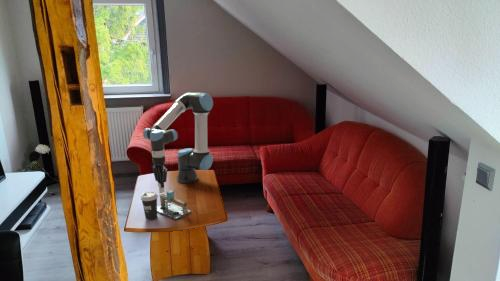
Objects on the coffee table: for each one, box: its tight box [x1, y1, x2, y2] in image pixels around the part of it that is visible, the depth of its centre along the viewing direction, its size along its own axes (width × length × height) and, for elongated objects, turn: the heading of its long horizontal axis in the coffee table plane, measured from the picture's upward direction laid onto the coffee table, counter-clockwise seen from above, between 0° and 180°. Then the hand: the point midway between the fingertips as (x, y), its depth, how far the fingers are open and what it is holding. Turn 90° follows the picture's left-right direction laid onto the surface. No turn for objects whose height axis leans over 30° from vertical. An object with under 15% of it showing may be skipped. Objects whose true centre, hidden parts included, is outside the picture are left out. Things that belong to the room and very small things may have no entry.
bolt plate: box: [157, 202, 192, 221], centre depth 224 cm, size 12×22×1 cm, turn 52°
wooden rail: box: [159, 193, 189, 214], centre depth 223 cm, size 5×22×6 cm, turn 52°
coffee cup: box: [140, 190, 158, 221], centre depth 214 cm, size 10×10×15 cm
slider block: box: [165, 189, 175, 210], centre depth 224 cm, size 6×3×10 cm, turn 142°
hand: (161, 192), depth 228 cm, fingers closed
